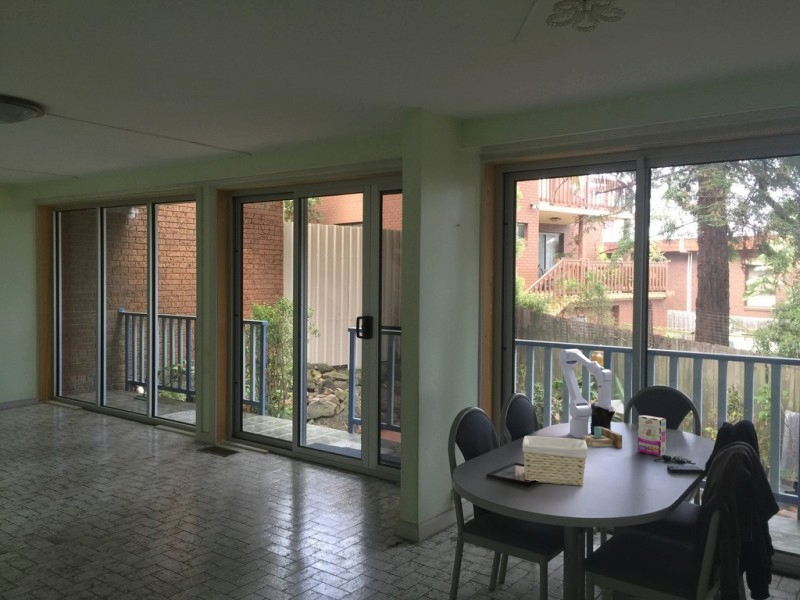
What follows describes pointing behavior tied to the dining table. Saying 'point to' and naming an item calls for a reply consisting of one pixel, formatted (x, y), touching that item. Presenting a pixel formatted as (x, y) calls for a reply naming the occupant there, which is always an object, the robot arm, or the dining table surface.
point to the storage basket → (554, 459)
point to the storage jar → (594, 421)
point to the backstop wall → (612, 437)
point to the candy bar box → (652, 435)
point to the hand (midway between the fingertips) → (603, 423)
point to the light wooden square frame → (598, 441)
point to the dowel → (597, 432)
